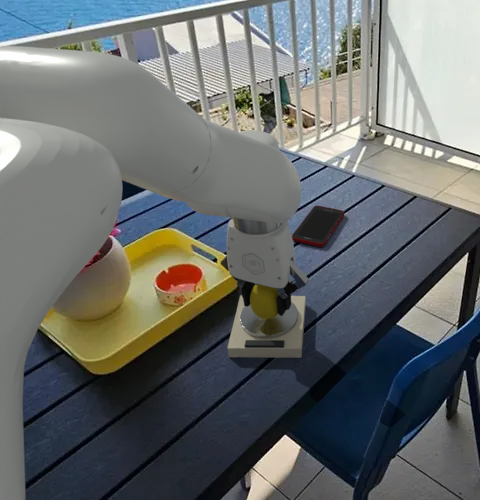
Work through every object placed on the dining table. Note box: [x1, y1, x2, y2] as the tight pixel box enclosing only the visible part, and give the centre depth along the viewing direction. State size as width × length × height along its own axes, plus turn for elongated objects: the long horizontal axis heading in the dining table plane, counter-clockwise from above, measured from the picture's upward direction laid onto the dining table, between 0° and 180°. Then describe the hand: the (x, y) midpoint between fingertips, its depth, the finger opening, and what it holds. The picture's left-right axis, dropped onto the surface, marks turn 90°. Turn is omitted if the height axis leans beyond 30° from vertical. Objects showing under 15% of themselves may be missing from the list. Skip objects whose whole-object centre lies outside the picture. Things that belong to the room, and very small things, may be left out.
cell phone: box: [291, 205, 345, 248], centre depth 114 cm, size 8×15×1 cm, turn 162°
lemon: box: [250, 283, 279, 319], centre depth 84 cm, size 6×6×8 cm
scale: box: [227, 294, 307, 359], centre depth 87 cm, size 13×12×3 cm
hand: (267, 305), depth 84 cm, fingers closed on lemon, 5 cm apart
